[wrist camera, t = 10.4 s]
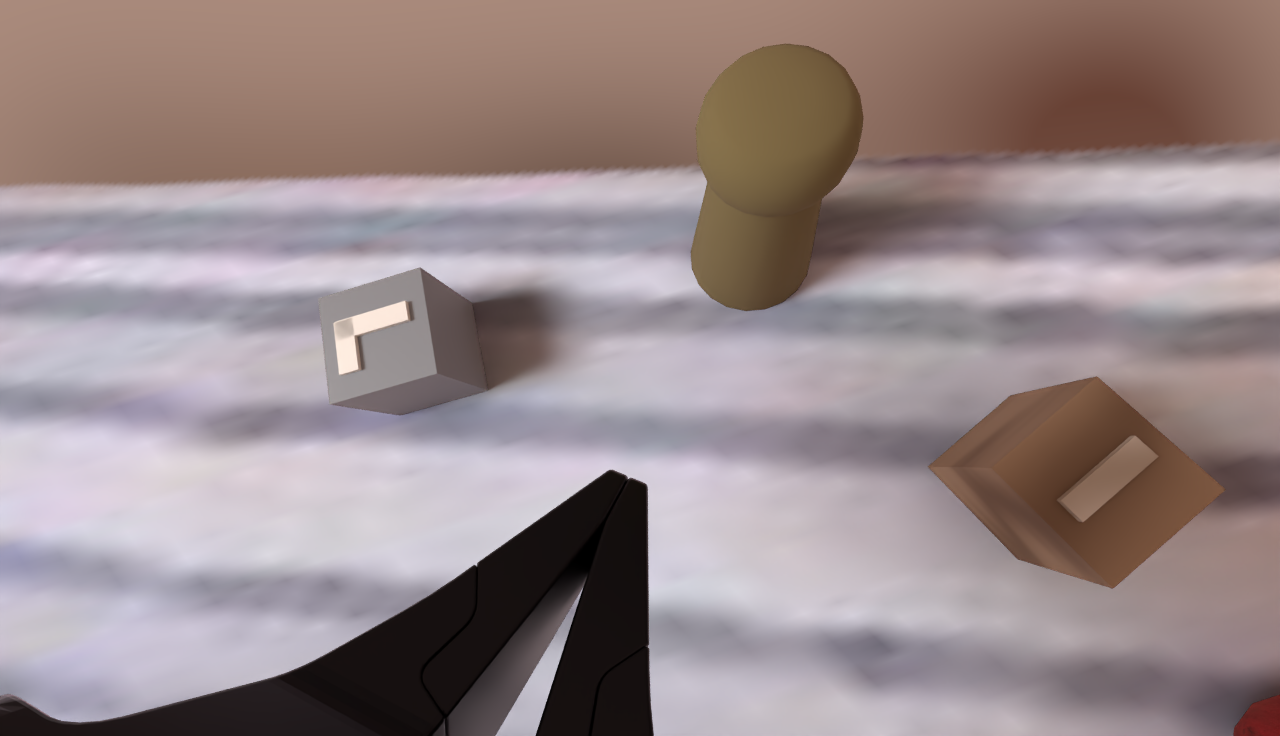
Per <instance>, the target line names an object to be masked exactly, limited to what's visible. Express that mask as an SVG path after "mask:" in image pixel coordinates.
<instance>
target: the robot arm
mask: <svg viewBox="0 0 1280 736" xmlns="http://www.w3.org/2000/svg"><path fill="white" fill-rule="evenodd" d="M583 586H584V587H583ZM582 588H583V590H582ZM581 590H582V593H581V596H580V599H579V603H578V606H577V609H576V612H575V615H574V618H573V621H572V624H571V627H570V631H569V634H568V637H567V640H566V643H565V646H564V649H563V652H562V655H561V658H560V662H559V665H558V668H557V671H556V674H555V677H554V680H553V683H552V686H551V689H550V693H549V696H548V699H547V702H546V705H545V708H544V711H543V714H542V717H541V721H540V724H539V727H538V730H537V733H536V736H654V733H653V722H652V712H651V698H650V672H649V648H648V645H649V587H648V487H647V485H646V484H645V483H643V482H641V481H638V480H636V479H633V478H629V479H628V477H627V476H626V475H624V474H621V473H619V472H617V471H614V470H609V471H607V472H605V473H604V474H603V475H601V476H600V477H598V478H597V479H595V480H594V481H593V482H591V483H590V484H588V485H587V486H586V487H584V488H583V489H581V490H580V491H578V492H577V493H576V494H574V495H573V496H571V497H570V498H569V499H567V500H566V501H564V502H563V503H561V504H560V505H559V506H557V507H556V508H554V509H553V510H552V511H550V512H549V513H547V514H546V515H544V516H543V517H542V518H540V519H539V520H537V521H536V522H535V523H533V524H532V525H530V526H529V527H527V528H526V529H525V530H523V531H522V532H520V533H519V534H518V535H516V536H515V537H513V538H512V539H510V540H509V541H508V542H506V543H505V544H503V545H502V546H501V547H499V548H498V549H496V550H495V551H493V552H492V553H491V554H489V555H488V556H486V557H485V558H484V559H482V560H481V561H479V562H478V563H477V566H476V565H473V566H472V567H470V568H469V569H468V570H466V571H465V572H463V573H462V574H461V575H459V576H458V577H456V578H455V579H453V580H452V581H450V582H449V583H447V584H446V585H444V586H443V587H441V588H440V589H438V590H437V591H435V592H434V593H432V594H431V595H429V596H427V597H426V598H424V599H422V600H421V601H419V602H417V603H415V604H414V605H412V606H410V607H409V608H407V609H405V610H404V611H402V612H400V613H398V614H397V615H395V616H393V617H391V618H390V619H388V620H386V621H384V622H382V623H381V624H379V625H377V626H375V627H374V628H372V629H370V630H368V631H366V632H365V633H363V634H361V635H359V636H357V637H356V638H354V639H352V640H350V641H349V642H347V643H345V644H343V645H341V646H340V647H338V648H336V649H334V650H332V651H331V652H329V653H327V654H325V655H323V656H322V657H320V658H318V659H316V660H314V661H312V662H310V663H308V664H306V665H304V666H301V667H299V668H297V669H294V670H292V671H289V672H287V673H284V674H281V675H278V676H275V677H272V678H268V679H265V680H261V681H257V682H253V683H250V684H246V685H242V686H238V687H234V688H230V689H226V690H223V691H219V692H215V693H211V694H207V695H203V696H200V697H196V698H192V699H188V700H184V701H180V702H176V703H173V704H169V705H165V706H161V707H157V708H153V709H149V710H146V711H142V712H138V713H134V714H130V715H126V716H122V717H117V718H113V719H108V720H103V721H93V722H81V723H79V722H67V721H61V720H58V719H55V718H52V717H50V716H48V715H47V714H45V713H44V712H42V711H40V710H39V709H37V708H36V707H34V706H32V705H31V704H29V703H27V702H26V701H24V700H22V699H21V698H19V697H17V696H14V695H11V694H6V695H1V696H0V736H495V735H496V734H497V732H498V730H499V729H500V727H501V725H502V723H503V722H504V720H505V718H506V717H507V715H508V713H509V712H510V710H511V708H512V707H513V705H514V703H515V701H516V700H517V698H518V696H519V695H520V693H521V691H522V690H523V688H524V686H525V685H526V683H527V681H528V679H529V678H530V676H531V674H532V673H533V671H534V669H535V668H536V666H537V664H538V663H539V661H540V659H541V658H542V656H543V654H544V652H545V651H546V649H547V647H548V646H549V644H550V642H551V641H552V639H553V637H554V636H555V634H556V632H557V630H558V629H559V627H560V625H561V624H562V622H563V620H564V619H565V617H566V615H567V614H568V612H569V610H570V608H571V607H572V605H573V603H574V602H575V600H576V598H577V597H578V595H579V593H580V592H581Z"/></svg>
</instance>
